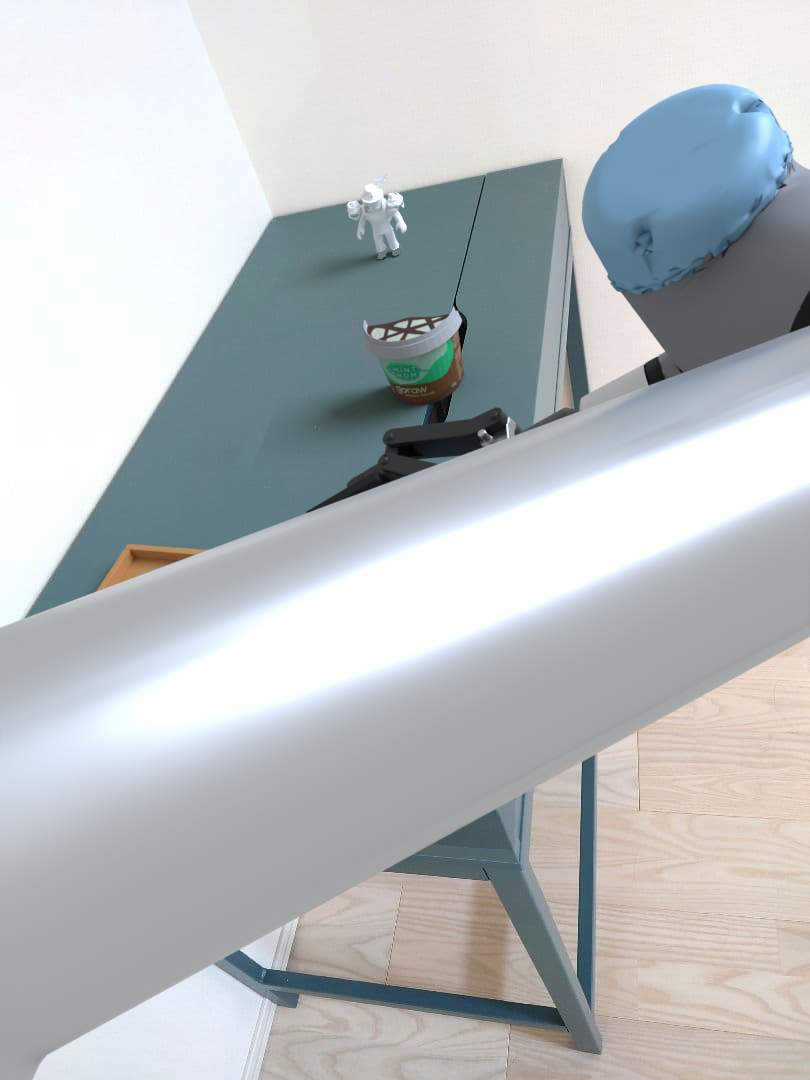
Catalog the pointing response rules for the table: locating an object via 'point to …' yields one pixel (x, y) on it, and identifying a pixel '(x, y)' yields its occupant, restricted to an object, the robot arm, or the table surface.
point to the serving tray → (143, 562)
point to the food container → (419, 356)
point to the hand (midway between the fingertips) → (322, 605)
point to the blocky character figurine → (378, 214)
